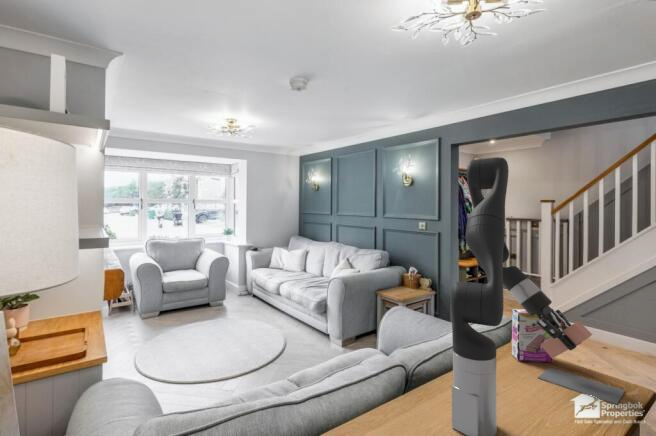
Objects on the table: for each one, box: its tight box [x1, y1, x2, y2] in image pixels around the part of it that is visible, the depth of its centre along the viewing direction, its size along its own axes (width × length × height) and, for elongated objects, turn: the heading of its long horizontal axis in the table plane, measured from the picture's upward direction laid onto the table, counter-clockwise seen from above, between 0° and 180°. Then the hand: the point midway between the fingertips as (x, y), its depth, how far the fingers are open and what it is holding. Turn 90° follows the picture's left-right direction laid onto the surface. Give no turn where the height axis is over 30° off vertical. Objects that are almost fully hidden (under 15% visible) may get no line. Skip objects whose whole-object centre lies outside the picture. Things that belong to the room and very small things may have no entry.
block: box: [540, 320, 593, 360], centre depth 97 cm, size 4×4×12 cm
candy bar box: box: [511, 308, 553, 363], centre depth 111 cm, size 11×5×16 cm, turn 84°
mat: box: [537, 366, 626, 406], centre depth 94 cm, size 10×18×1 cm, turn 39°
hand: (576, 346), depth 95 cm, fingers closed on block, 4 cm apart
